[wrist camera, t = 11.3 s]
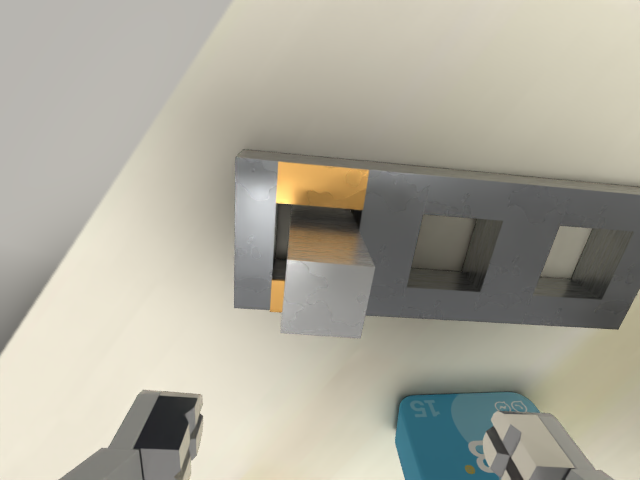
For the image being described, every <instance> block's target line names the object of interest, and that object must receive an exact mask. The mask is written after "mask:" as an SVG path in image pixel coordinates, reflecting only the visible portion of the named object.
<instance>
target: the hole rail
mask: <svg viewBox="0 0 640 480" xmlns="http://www.w3.org/2000/svg"><path fill="white" fill-rule="evenodd" d="M278 203H283V204H295V205H307V206H319V207H331V208H343V209H353V217H354V220H355V222H356V224H357V226H358V229H359V231H360V233H361V236H362V238H363V240H364V243H365V245H366V247H367V250H368V252H369V254H370V257H371V259H372V261H373V264H374V266H375V271H374V276H373V280H372V285H371V290H370V295H369V300H368V305H367V309H366V314H365V315H368V316H386V317H404V318H422V319H440V320H458V321H475V322H493V323H511V324H529V325H547V326H565V327H583V328H601V329H619V327H620V325H621V323H622V321H623V319H624V318H625V316H626V314H627V312H628V310H629V308H630V306H631V304H632V302H633V300H634V298H635V296H636V295H637V293H638V291H639V289H640V187H633V186H623V185H612V184H602V183H591V182H581V181H570V180H560V179H549V178H539V177H528V176H518V175H507V174H497V173H487V172H476V171H466V170H455V169H445V168H434V167H424V166H413V165H403V164H392V163H382V162H371V161H361V160H350V159H340V158H329V157H319V156H308V155H298V154H287V153H277V152H266V151H256V150H245V149H243V150H242V151H241V152H240V153H239V154H238V155H237V156H236V159H235V268H234V308H243V309H261V310H270V312H282V308H283V296H284V284H285V272H286V260H287V259H275V251H276V233H277V216H278ZM423 214H428V215H440V216H452V217H464V218H476V219H477V220H476V224H475V227H474V231H473V234H472V238H471V241H470V245H469V248H468V252H467V255H466V258H465V262H464V265H463V269H462V272H461V271H446V270H432V269H417V268H411V266H412V261H413V257H414V253H415V248H416V244H417V239H418V235H419V231H420V226H421V222H422V217H423ZM559 226H572V227H584V228H593V230H592V232H591V234H590V237H589V239H588V241H587V244H586V246H585V248H584V251H583V253H582V255H581V258H580V260H579V262H578V265H577V267H576V269H575V272H574V274H573V276H572V278H571V279H563V278H548V277H540V275H541V272H542V270H543V267H544V265H545V262H546V260H547V257H548V255H549V252H550V249H551V247H552V244H553V242H554V239H555V237H556V234H557V231H558V229H559Z"/></svg>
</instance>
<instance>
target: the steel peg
mask: <svg viewBox="0 0 640 480" xmlns="http://www.w3.org/2000/svg"><path fill="white" fill-rule="evenodd" d="M374 271H375V266H374V264H373V261H372V259H371V257H370V254H369V252H368V250H367V247H366V245H365V243H364V240H363V238H362V236H361V233H360V231H359V229H358V226H357V224H356V222H355V220H354V217H353V215H352V213H351V210H350V209H343V208H331V207H319V206H307V205H295V204H292V208H291V218H290V228H289V238H288V249H287V260H286V272H285V284H284V296H283V308H282V320H281V332H280V333H289V334H304V335H318V336H333V337H348V338H361V334H362V329H363V324H364V319H365V314H366V309H367V305H368V300H369V295H370V290H371V285H372V280H373V276H374Z"/></svg>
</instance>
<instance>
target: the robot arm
mask: <svg viewBox="0 0 640 480" xmlns="http://www.w3.org/2000/svg"><path fill="white" fill-rule="evenodd" d="M202 405H203V401H202V395H201V394H192V393H180V392H168V391H152V390H142V391H141V392H140V393H139V394H138V395H137V397H136V399H135V401H134V403H133V404H132V406H131V408H130V410H129V412H128V413H127V415H126V417H125V419H124V420H123V422H122V424H121V426H120V428H119V429H118V431H117V433H116V435H115V436H114V438H113V440H112V442H111V444H110V445H109V447H108V448H101V449H100V450H98V451H97V452H95V453H94V454H93V455H91V456H90V457H89V458H87V459H86V460H85V461H83V462H82V463H81V464H79V465H78V466H77V467H75V468H74V469H73V470H71V471H70V472H68V473H67V474H66V475H64V476H63V477H62V478H60V479H59V480H189V479H190V476H191V460H193V459H194V458H195V457H196V456H197V452H198V449H199V446H200V441H201V436H202V430H203V416H202V415H201V414H200V411H201V408H202ZM491 422H492V424H493V427H491V428H490V429H488V430H487V431H486V432H485V435H484V438H483V452H484V455H485V459H486V461H487V463H488V466H489V468H490V469H491V470H492V471H493V472H494V473H495V474H496V475H497V476H499V480H614V479H613V478H611V477H610V476H609V475H607V474H606V473H604V472H603V471H601V470H596V469H595V468H594V467H593V466H592V464H591V463H590V462H589V460H588V459H587V458H586V456H585V455H584V454H583V452H582V451H581V450H580V449H579V447H578V446H577V445H576V443H575V442H574V441H573V439H572V438H571V437H570V435H569V434H568V433H567V432H566V430H565V429H564V428H563V426H562V425H561V424H560V422H559V421H558V420H557V419H556V417H554V416H553V415H552V414H550V413H534V412H532V413H530V412H517V411H497V412H495V413H494V414H493V416H492V418H491Z"/></svg>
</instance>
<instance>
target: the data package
mask: <svg viewBox="0 0 640 480" xmlns="http://www.w3.org/2000/svg"><path fill="white" fill-rule="evenodd" d="M497 411H517V412H530V413H532V412H534V413H540V412H539V410H538V409H537V408H536V406H535V405H534V404H533V403H532V402H531V401H530V400H529V399H527V398H526V397H524V396H522V395H520V394H517V393H514V392H489V393H461V394H433V395H411V396H408V397H406V398H404V399H403V400H402V401H401V403H400V406H399V414H398V422H397V429H396V437H395V444H396V448H397V452H398V455H399V459H400V463H401V466H402V470H403V474H404V477H405V480H499V476H497V475H496V474H495V473H494V472H493V471H492V470H491V469H490V468H489V466H488V463H487V461H486V459H485V455H484V452H483V438H484V435H485V432H486V431H487V430H488V429H490V428H491V427H493V424H492V422H491V418H492V416H493V414H494V413H495V412H497Z"/></svg>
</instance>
